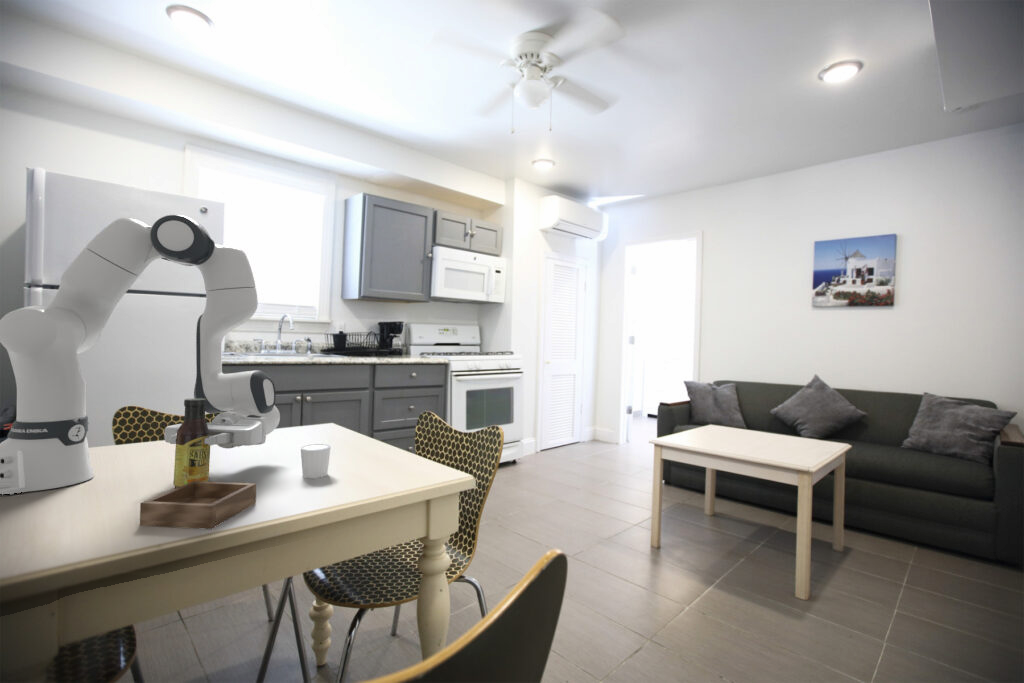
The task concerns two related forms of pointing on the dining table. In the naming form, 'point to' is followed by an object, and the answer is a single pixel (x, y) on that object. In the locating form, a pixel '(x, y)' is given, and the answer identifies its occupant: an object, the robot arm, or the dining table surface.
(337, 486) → the dining table surface
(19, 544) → the dining table surface
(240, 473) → the dining table surface
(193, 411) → the sauce bottle
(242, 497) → the brown wooden tray
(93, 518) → the dining table surface
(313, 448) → the white cup
